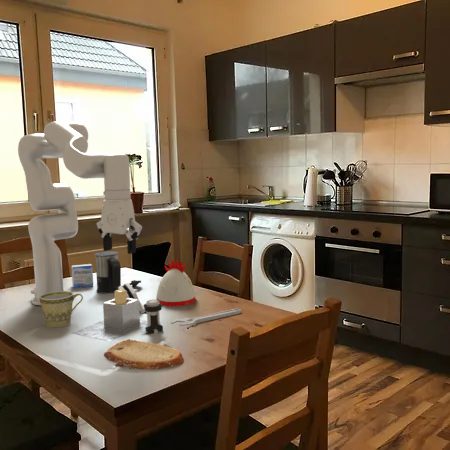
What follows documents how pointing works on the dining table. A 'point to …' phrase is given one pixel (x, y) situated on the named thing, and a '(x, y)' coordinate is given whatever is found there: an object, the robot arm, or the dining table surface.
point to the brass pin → (120, 296)
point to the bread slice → (143, 355)
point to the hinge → (132, 295)
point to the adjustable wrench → (207, 317)
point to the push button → (153, 317)
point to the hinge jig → (115, 321)
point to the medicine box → (82, 275)
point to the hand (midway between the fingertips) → (119, 251)
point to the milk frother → (109, 272)
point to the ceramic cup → (58, 307)
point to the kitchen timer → (175, 287)
